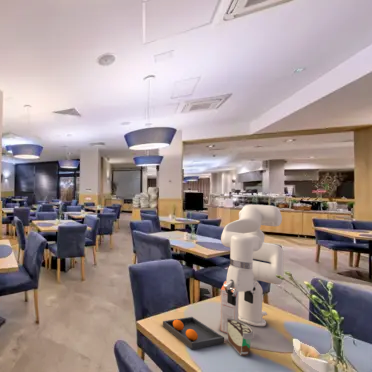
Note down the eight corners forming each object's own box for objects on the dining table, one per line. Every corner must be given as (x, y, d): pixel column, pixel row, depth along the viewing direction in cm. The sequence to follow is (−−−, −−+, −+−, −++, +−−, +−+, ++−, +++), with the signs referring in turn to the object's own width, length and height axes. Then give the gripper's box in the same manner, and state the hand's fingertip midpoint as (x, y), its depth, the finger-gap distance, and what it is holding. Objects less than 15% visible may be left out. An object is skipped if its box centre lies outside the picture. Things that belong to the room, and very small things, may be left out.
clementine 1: (178, 326, 115) (178, 317, 115) (186, 332, 110) (186, 322, 110) (170, 327, 113) (170, 318, 113) (178, 333, 109) (178, 323, 109)
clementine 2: (191, 335, 107) (191, 326, 107) (200, 342, 103) (200, 332, 103) (183, 337, 106) (183, 327, 106) (191, 344, 102) (192, 333, 102)
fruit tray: (191, 321, 120) (192, 316, 120) (224, 343, 104) (224, 337, 104) (162, 326, 115) (162, 321, 115) (191, 349, 99) (191, 343, 99)
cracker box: (223, 319, 122) (224, 280, 122) (238, 324, 118) (239, 283, 118) (219, 330, 112) (220, 288, 112) (235, 336, 108) (236, 292, 108)
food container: (260, 360, 93) (261, 336, 93) (243, 358, 95) (244, 334, 95) (241, 340, 105) (241, 318, 105) (225, 338, 107) (226, 317, 107)
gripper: (246, 260, 107) (245, 297, 107) (217, 262, 103) (216, 300, 103) (265, 266, 100) (264, 305, 100) (234, 268, 95) (233, 309, 95)
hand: (240, 303), depth 101 cm, fingers open, 9 cm apart
